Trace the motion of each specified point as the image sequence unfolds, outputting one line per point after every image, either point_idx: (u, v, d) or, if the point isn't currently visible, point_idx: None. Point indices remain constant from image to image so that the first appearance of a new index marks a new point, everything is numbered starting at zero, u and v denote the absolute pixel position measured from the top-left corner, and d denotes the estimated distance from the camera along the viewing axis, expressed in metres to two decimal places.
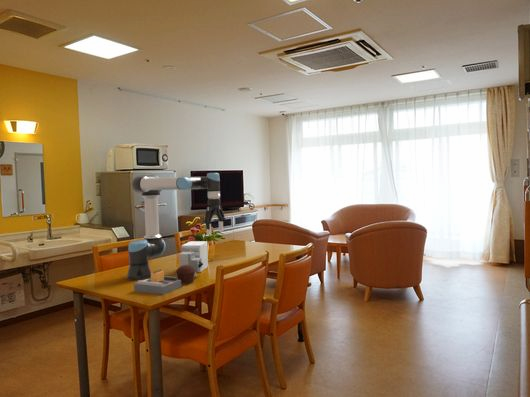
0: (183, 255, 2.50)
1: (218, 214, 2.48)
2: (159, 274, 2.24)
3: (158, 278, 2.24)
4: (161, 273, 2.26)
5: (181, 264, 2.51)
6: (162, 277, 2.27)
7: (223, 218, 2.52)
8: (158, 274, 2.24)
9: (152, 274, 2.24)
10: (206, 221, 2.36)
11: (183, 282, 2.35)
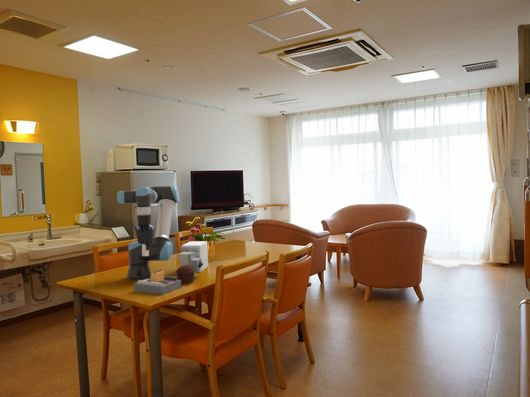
0: (183, 255, 2.50)
1: None
2: (159, 274, 2.24)
3: (158, 278, 2.24)
4: (161, 273, 2.26)
5: (181, 264, 2.51)
6: (162, 277, 2.27)
7: (148, 241, 2.26)
8: (158, 274, 2.24)
9: (152, 274, 2.24)
10: None
11: (183, 282, 2.35)
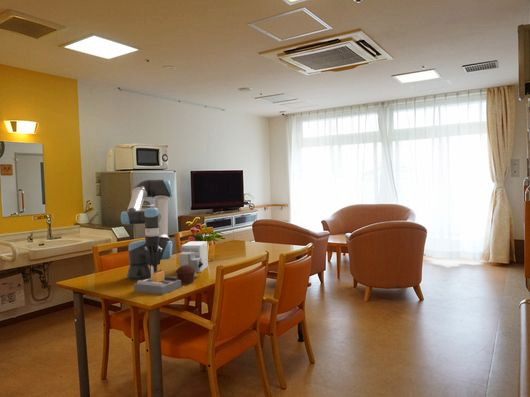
0: (183, 255, 2.50)
1: None
2: (160, 274, 2.24)
3: (159, 278, 2.23)
4: (162, 273, 2.26)
5: (181, 264, 2.51)
6: (163, 277, 2.27)
7: (155, 262, 2.24)
8: (159, 274, 2.24)
9: (153, 274, 2.23)
10: None
11: (183, 282, 2.35)
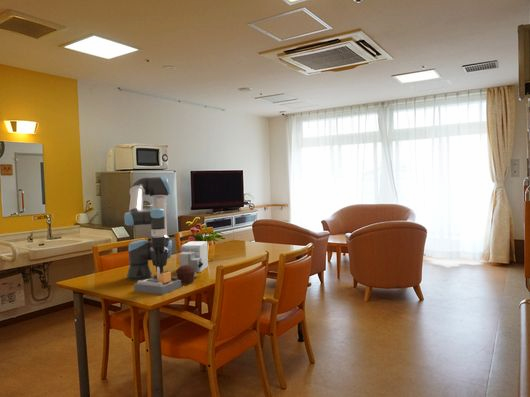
0: (183, 255, 2.50)
1: None
2: (166, 275, 2.22)
3: (165, 279, 2.22)
4: (168, 274, 2.24)
5: (181, 264, 2.51)
6: (169, 278, 2.25)
7: (162, 263, 2.23)
8: (165, 275, 2.22)
9: (159, 275, 2.21)
10: None
11: (183, 282, 2.35)
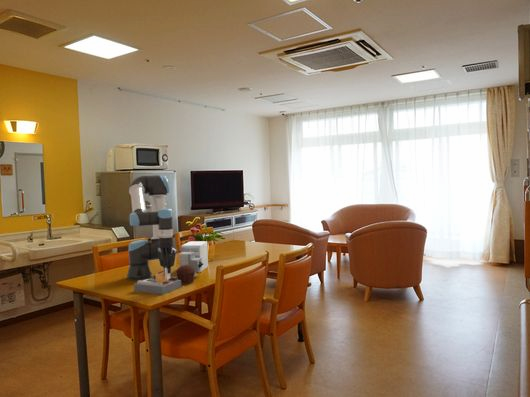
0: (183, 255, 2.50)
1: None
2: (164, 274, 2.23)
3: (163, 278, 2.22)
4: None
5: (181, 264, 2.51)
6: None
7: (169, 264, 2.21)
8: (163, 274, 2.22)
9: (157, 274, 2.22)
10: None
11: (183, 282, 2.35)
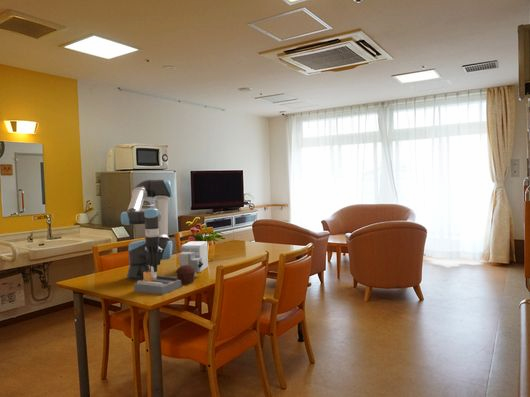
0: (183, 255, 2.50)
1: None
2: None
3: (150, 277, 2.26)
4: None
5: (181, 264, 2.51)
6: None
7: (156, 263, 2.25)
8: (150, 273, 2.26)
9: (144, 273, 2.26)
10: None
11: (183, 282, 2.35)
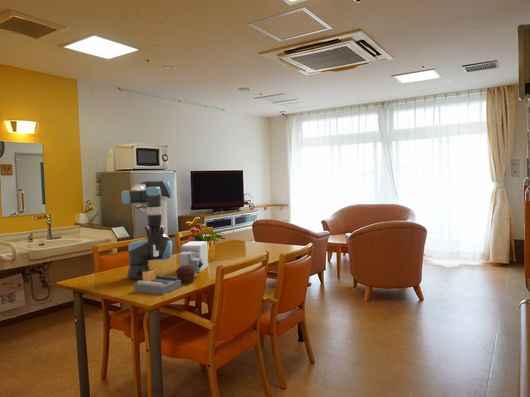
0: (183, 255, 2.50)
1: None
2: (150, 273, 2.27)
3: (149, 277, 2.26)
4: (153, 272, 2.29)
5: (181, 264, 2.51)
6: (154, 276, 2.29)
7: (158, 241, 2.24)
8: (149, 273, 2.26)
9: (144, 273, 2.26)
10: None
11: (183, 282, 2.35)
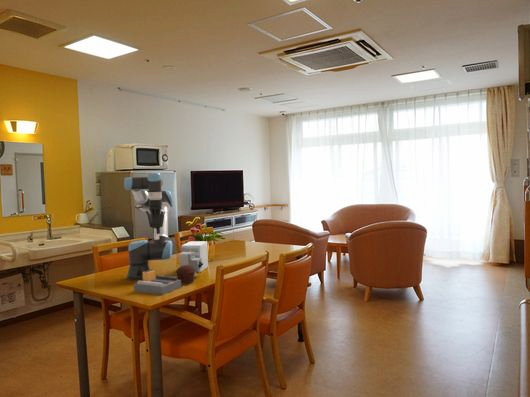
0: (183, 255, 2.50)
1: None
2: (150, 273, 2.27)
3: (149, 277, 2.26)
4: (153, 272, 2.29)
5: (181, 264, 2.51)
6: (154, 276, 2.29)
7: (158, 225, 2.35)
8: (149, 273, 2.26)
9: (144, 273, 2.26)
10: None
11: (183, 282, 2.35)
